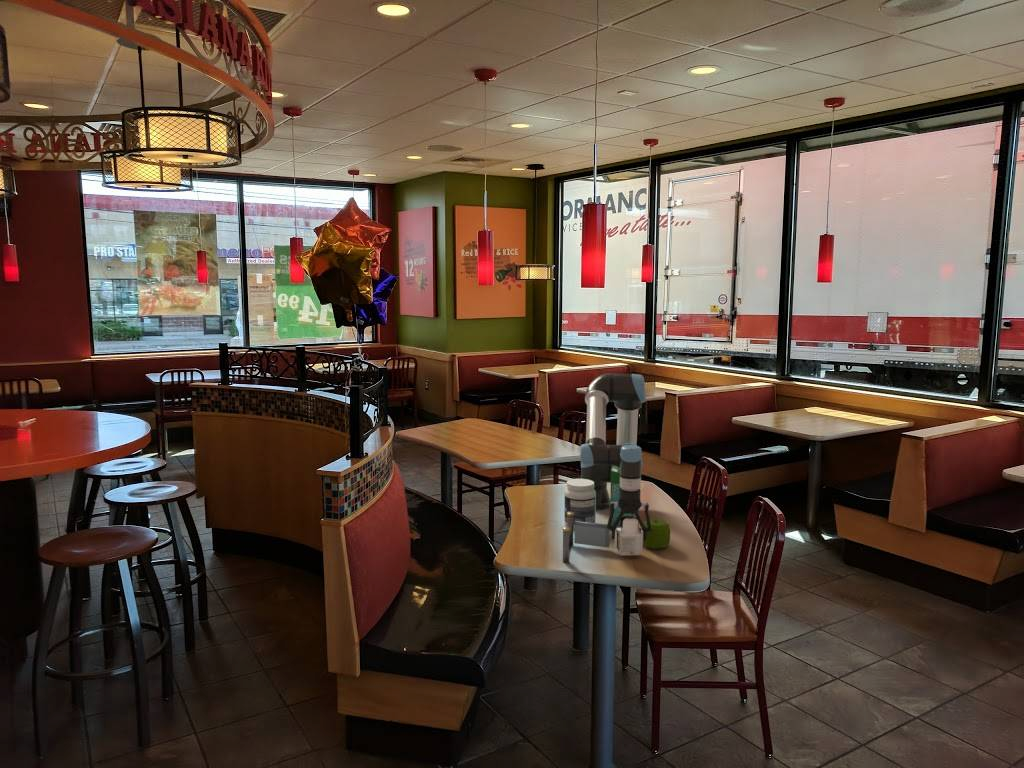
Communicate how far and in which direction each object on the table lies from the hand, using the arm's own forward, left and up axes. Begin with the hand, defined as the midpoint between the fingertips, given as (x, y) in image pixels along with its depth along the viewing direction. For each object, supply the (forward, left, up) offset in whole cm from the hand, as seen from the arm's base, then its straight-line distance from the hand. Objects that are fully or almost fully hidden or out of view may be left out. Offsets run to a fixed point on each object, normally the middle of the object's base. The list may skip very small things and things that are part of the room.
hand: (628, 548), depth 264 cm
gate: (-6, -14, -2) cm, 15 cm away
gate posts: (+1, -22, -3) cm, 22 cm away
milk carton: (-30, -3, -3) cm, 30 cm away
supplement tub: (-30, -20, -3) cm, 36 cm away
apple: (-11, +10, -3) cm, 15 cm away
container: (0, 0, -1) cm, 1 cm away
